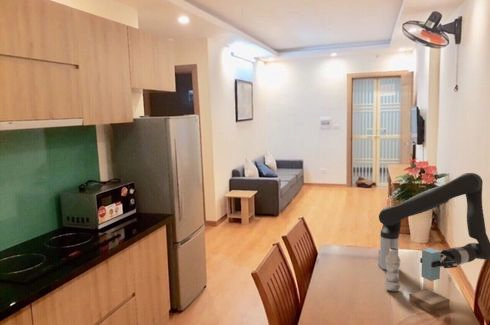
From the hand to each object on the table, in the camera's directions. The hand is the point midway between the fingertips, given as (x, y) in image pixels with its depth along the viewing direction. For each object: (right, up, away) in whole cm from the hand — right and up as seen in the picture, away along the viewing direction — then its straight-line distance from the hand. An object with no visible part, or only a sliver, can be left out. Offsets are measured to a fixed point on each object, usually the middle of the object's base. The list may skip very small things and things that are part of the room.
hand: (426, 262), depth 160 cm
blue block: (+3, -7, +2) cm, 7 cm away
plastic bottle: (-8, -18, +17) cm, 26 cm away
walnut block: (+2, -19, +3) cm, 20 cm away
